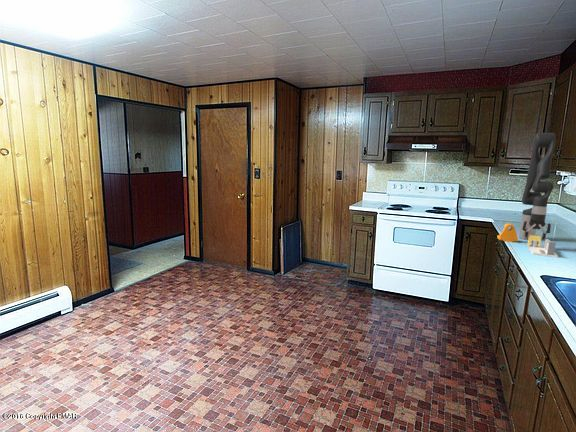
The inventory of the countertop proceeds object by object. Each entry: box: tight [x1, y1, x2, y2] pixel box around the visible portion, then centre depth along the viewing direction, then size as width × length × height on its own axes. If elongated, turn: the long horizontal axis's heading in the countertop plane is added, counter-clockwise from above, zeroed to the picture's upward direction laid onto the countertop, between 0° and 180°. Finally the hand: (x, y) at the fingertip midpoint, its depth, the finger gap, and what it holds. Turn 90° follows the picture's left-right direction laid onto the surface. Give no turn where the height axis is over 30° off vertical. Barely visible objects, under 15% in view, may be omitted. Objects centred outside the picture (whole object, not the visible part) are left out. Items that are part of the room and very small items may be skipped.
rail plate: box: [527, 238, 559, 258], centre depth 213 cm, size 24×12×8 cm, turn 152°
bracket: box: [497, 222, 519, 243], centre depth 238 cm, size 11×7×12 cm, turn 72°
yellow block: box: [527, 234, 542, 247], centre depth 220 cm, size 5×6×6 cm
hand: (534, 238), depth 220 cm, fingers open, 8 cm apart
